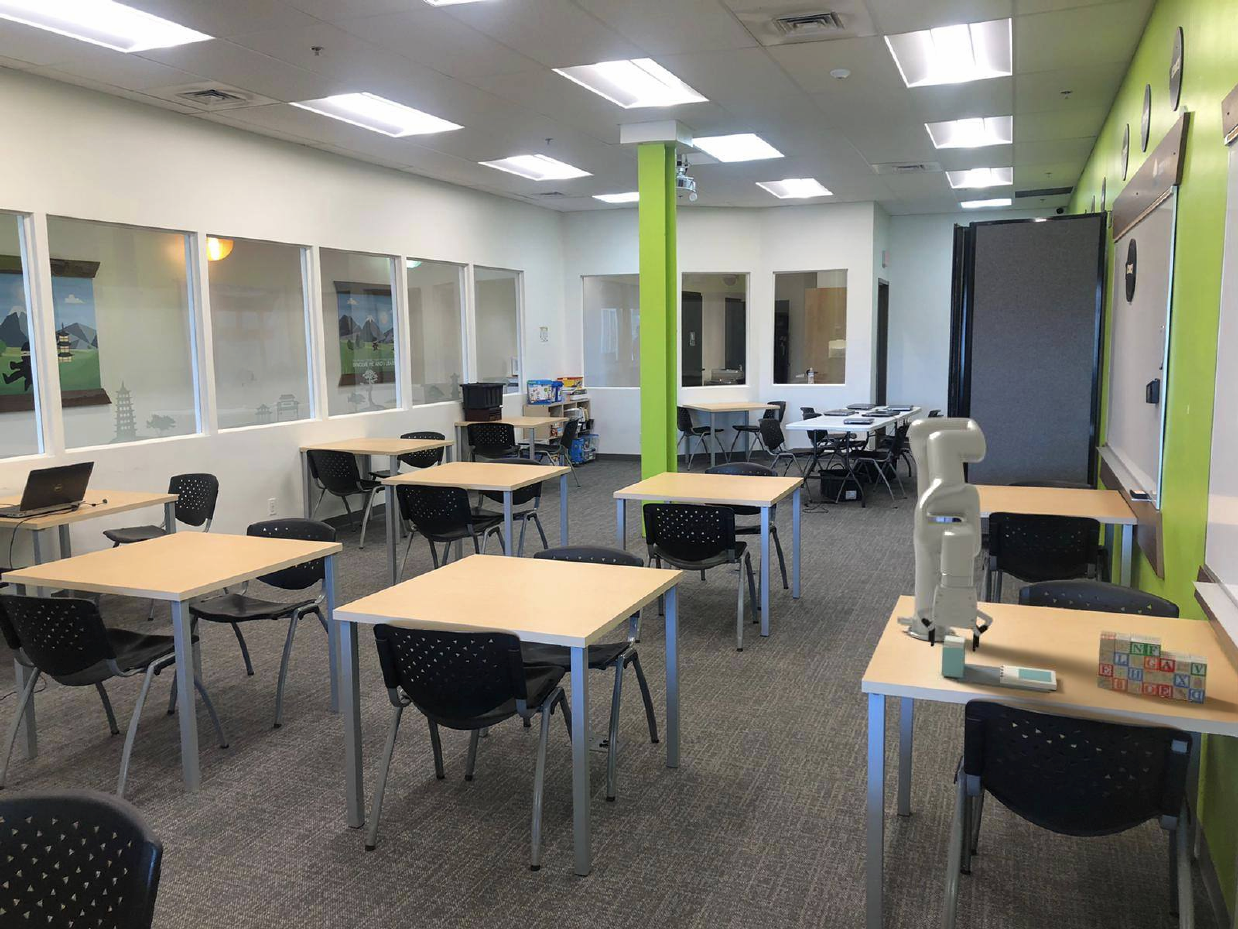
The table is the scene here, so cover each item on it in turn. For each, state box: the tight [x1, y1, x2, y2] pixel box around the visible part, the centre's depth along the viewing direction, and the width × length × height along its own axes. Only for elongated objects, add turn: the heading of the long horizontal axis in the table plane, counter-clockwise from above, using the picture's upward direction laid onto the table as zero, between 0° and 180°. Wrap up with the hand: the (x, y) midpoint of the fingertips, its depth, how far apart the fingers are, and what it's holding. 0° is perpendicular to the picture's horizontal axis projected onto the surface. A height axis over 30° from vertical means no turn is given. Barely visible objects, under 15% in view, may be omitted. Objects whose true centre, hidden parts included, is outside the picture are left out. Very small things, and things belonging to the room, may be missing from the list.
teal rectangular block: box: [941, 635, 967, 678], centre depth 227 cm, size 5×10×7 cm, turn 157°
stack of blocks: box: [1097, 630, 1208, 703], centre depth 214 cm, size 21×6×12 cm, turn 60°
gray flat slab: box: [956, 662, 1057, 694], centre depth 223 cm, size 22×13×2 cm, turn 67°
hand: (953, 647), depth 228 cm, fingers open, 9 cm apart
